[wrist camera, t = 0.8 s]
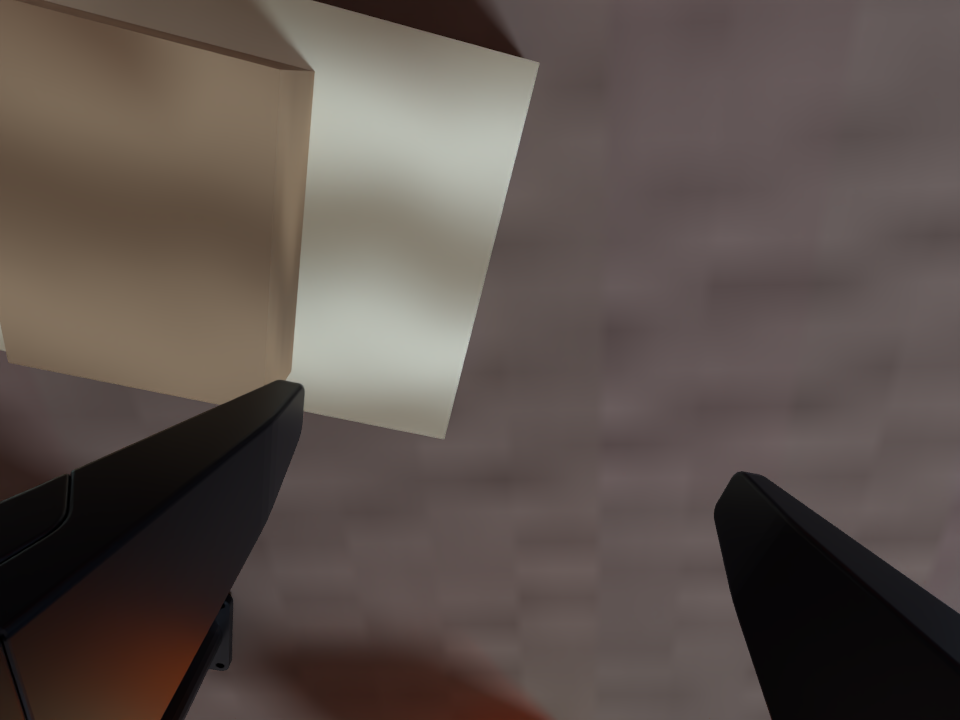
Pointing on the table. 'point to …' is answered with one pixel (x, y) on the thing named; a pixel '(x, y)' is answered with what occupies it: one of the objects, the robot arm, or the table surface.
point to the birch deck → (379, 193)
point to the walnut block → (148, 204)
